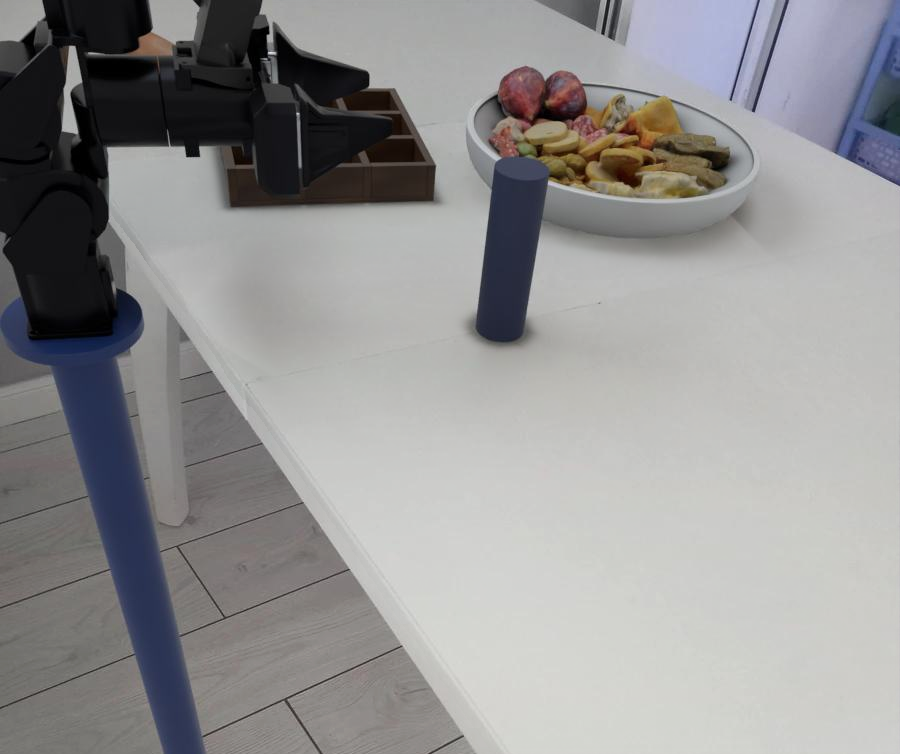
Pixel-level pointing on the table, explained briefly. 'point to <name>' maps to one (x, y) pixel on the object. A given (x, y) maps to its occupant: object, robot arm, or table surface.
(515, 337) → the navy round peg
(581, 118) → the bowl
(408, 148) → the grid
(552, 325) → the table surface
